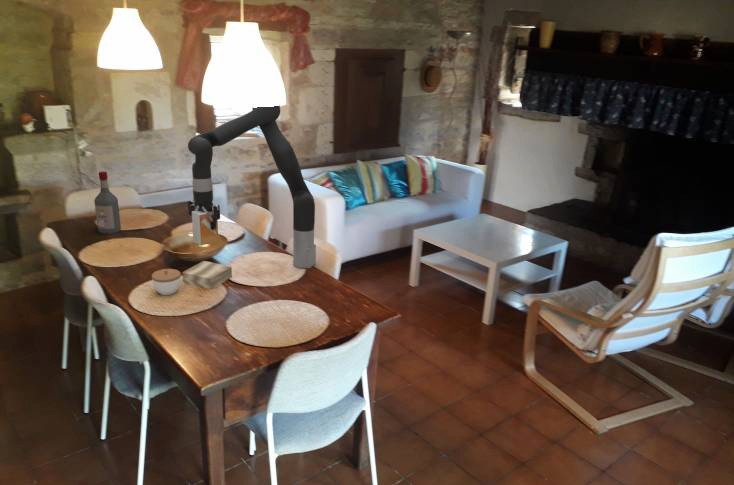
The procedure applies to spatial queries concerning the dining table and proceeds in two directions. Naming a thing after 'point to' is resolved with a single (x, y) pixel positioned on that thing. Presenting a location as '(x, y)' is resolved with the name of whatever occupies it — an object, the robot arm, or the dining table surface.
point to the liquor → (107, 208)
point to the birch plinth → (207, 274)
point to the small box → (203, 228)
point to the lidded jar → (166, 281)
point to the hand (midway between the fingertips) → (205, 227)
